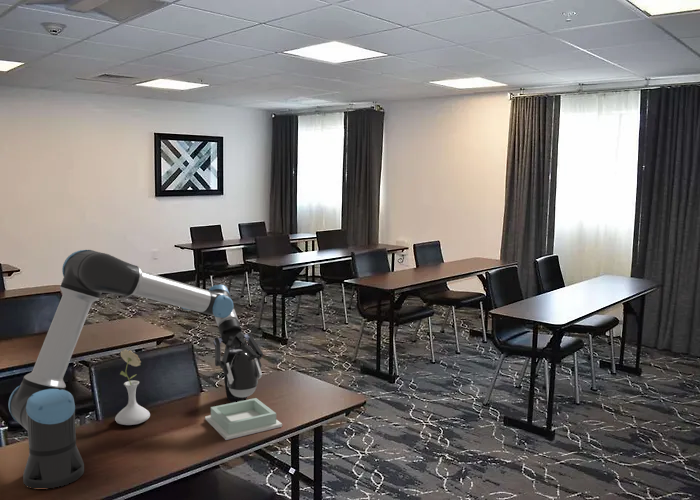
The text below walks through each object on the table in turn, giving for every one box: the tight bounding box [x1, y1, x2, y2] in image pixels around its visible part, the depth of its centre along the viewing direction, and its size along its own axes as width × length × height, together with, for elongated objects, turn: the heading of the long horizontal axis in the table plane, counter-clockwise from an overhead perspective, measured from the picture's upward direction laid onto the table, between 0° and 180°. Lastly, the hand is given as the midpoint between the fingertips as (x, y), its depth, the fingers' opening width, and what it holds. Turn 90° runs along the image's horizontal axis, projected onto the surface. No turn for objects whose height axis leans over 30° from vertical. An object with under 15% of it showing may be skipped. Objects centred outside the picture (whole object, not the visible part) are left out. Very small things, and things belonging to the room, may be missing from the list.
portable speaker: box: [223, 347, 248, 403], centre depth 222 cm, size 9×9×20 cm
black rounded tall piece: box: [227, 351, 259, 398], centre depth 198 cm, size 10×10×15 cm
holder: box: [204, 397, 283, 441], centre depth 200 cm, size 20×20×4 cm
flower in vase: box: [114, 348, 151, 426], centre depth 200 cm, size 13×11×25 cm
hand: (246, 379), depth 196 cm, fingers closed on black rounded tall piece, 9 cm apart
